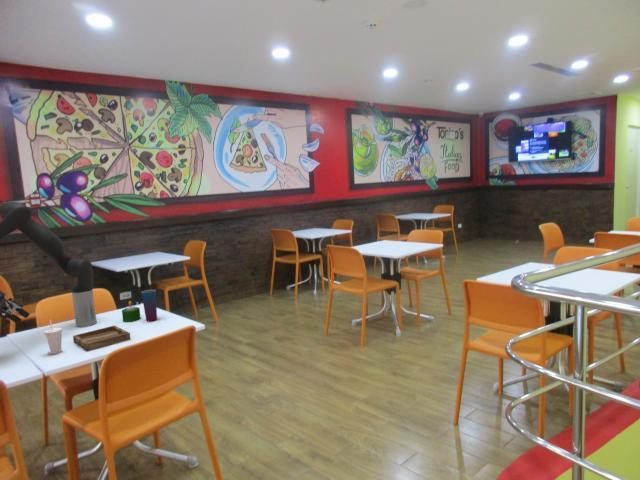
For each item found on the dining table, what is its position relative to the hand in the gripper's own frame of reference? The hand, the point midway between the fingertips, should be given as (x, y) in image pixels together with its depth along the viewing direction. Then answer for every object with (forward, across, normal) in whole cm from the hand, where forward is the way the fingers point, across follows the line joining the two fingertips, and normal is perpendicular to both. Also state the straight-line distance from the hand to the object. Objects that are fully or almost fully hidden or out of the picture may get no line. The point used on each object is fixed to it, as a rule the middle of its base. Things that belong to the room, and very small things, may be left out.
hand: (24, 319), depth 185 cm
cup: (+42, +33, -20) cm, 57 cm away
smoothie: (+18, 0, +4) cm, 19 cm away
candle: (+35, +38, -13) cm, 54 cm away
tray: (+30, +8, -7) cm, 31 cm away
